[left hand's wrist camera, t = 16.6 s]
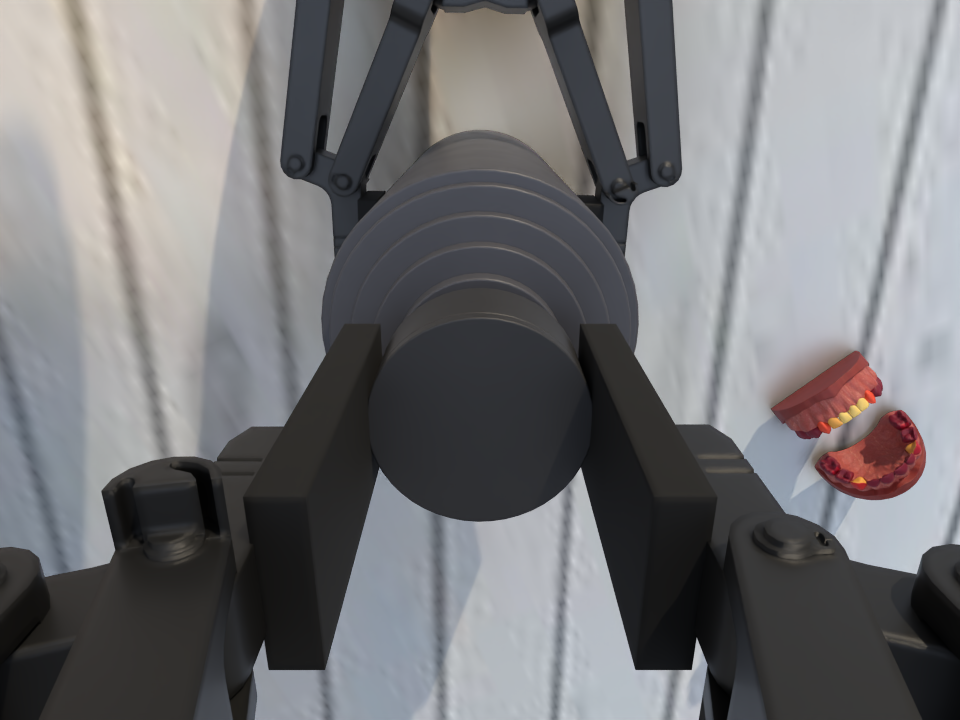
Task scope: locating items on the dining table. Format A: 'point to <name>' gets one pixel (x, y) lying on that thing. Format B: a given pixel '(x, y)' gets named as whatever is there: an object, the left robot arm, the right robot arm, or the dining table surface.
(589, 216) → the bottle
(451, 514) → the cap
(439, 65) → the dining table surface
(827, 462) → the dental model
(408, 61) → the right robot arm
